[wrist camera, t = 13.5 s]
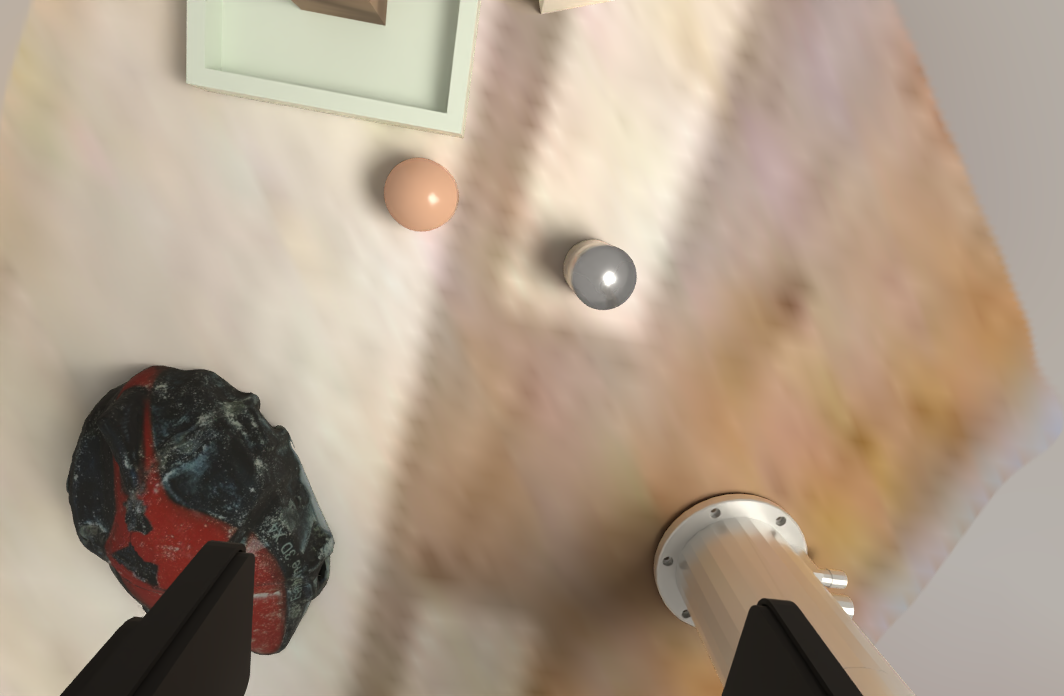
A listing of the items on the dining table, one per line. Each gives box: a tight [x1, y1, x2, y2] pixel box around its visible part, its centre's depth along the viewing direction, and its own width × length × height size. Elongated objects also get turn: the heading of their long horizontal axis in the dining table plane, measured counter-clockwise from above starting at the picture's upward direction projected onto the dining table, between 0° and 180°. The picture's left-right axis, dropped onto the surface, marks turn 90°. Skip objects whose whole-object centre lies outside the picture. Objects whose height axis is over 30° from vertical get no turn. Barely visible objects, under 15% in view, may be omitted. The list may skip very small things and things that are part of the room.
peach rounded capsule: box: [384, 158, 459, 231], centre depth 36 cm, size 4×4×3 cm
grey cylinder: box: [563, 239, 636, 310], centre depth 37 cm, size 4×4×5 cm
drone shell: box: [66, 366, 335, 655], centre depth 39 cm, size 21×20×8 cm
